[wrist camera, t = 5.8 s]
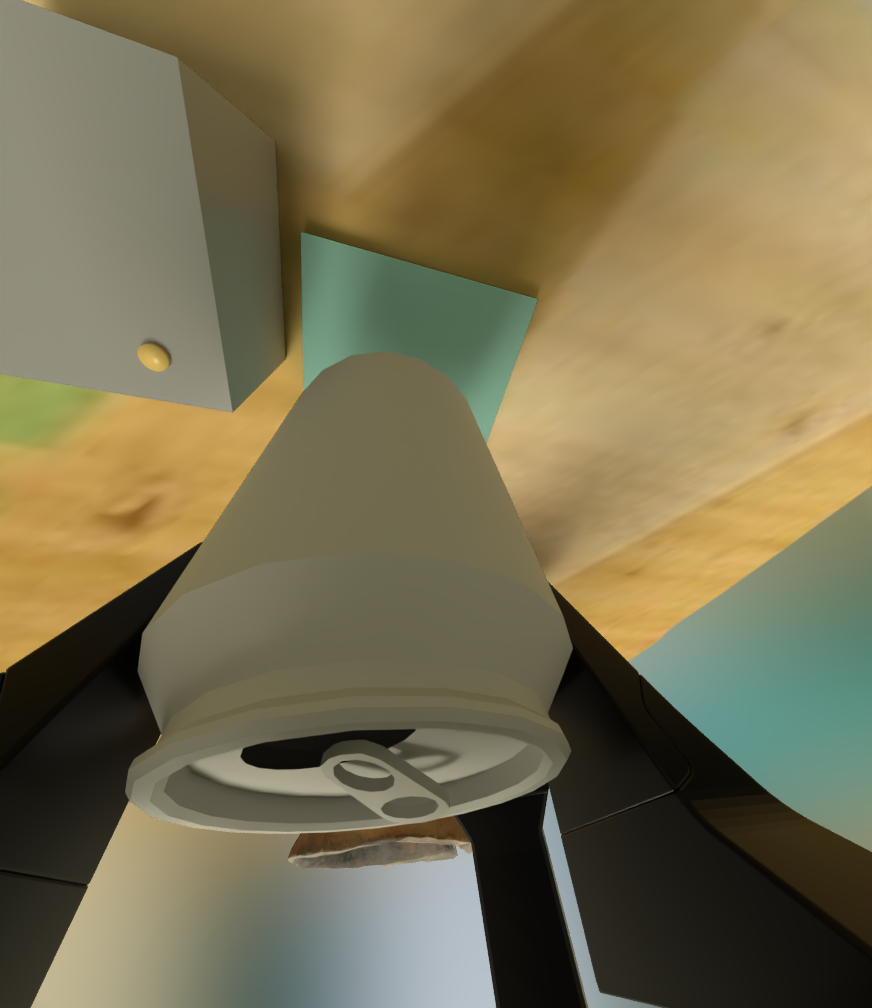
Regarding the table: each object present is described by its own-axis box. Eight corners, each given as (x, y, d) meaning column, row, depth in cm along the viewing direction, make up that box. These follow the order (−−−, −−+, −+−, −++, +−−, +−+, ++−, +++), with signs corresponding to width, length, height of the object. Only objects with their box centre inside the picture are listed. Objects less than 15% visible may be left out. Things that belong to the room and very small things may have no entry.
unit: (275, 140, 12) (172, 52, 7) (285, 359, 17) (230, 414, 11) (36, 60, 11) (-360, -143, 5) (120, 325, 15) (-38, 370, 10)
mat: (533, 297, 16) (537, 299, 16) (470, 476, 23) (472, 481, 22) (304, 232, 14) (300, 231, 14) (306, 452, 20) (304, 457, 20)
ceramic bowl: (455, 733, 57) (469, 859, 45) (327, 744, 54) (308, 880, 43) (469, 675, 43) (495, 836, 31) (299, 688, 41) (259, 866, 29)
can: (410, 299, 11) (475, 594, 2) (500, 457, 15) (662, 790, 6) (257, 416, 13) (-106, 847, 4) (374, 526, 17) (345, 857, 8)
